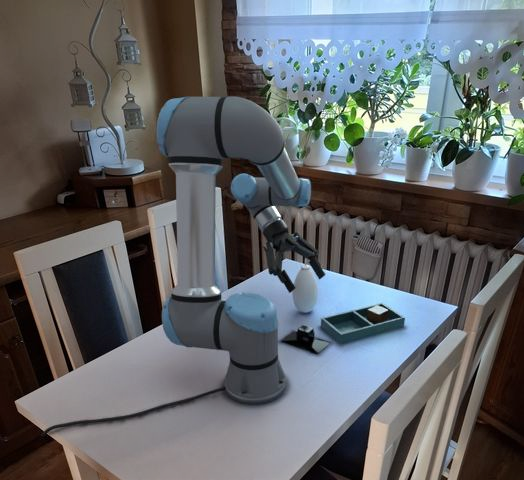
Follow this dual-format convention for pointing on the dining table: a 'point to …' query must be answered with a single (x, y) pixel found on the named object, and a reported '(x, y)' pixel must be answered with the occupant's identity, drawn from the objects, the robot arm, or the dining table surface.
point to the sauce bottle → (305, 289)
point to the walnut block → (377, 315)
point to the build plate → (305, 340)
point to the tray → (359, 324)
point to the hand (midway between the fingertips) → (308, 283)
